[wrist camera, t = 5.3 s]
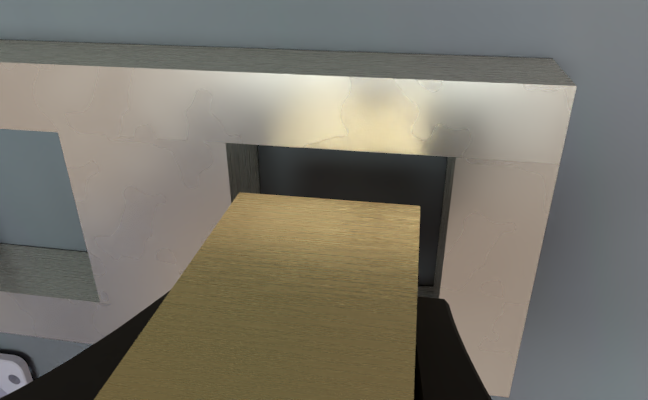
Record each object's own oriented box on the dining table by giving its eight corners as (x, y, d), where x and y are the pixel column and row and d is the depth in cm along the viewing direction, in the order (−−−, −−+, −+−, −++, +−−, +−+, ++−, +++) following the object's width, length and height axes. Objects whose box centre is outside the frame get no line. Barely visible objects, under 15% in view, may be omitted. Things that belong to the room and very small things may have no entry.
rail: (498, 337, 17) (508, 397, 15) (-43, 277, 21) (-99, 319, 18) (552, 58, 13) (576, 85, 11) (-137, 35, 16) (-225, 53, 14)
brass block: (407, 348, 13) (393, 630, 8) (251, 330, 14) (142, 580, 9) (420, 206, 11) (412, 450, 6) (239, 192, 12) (90, 403, 7)
